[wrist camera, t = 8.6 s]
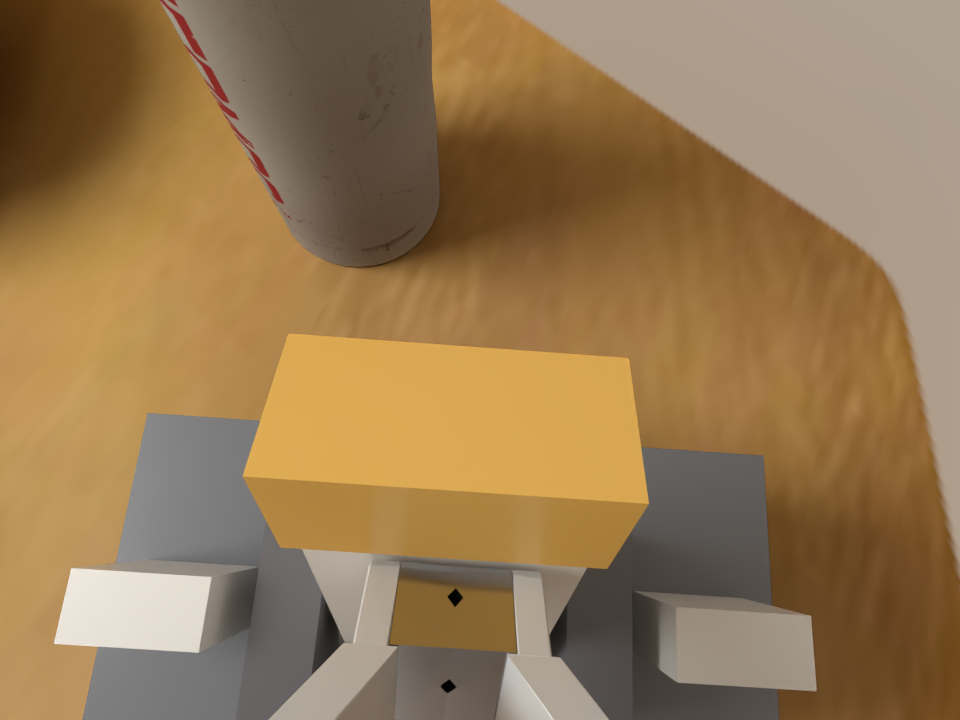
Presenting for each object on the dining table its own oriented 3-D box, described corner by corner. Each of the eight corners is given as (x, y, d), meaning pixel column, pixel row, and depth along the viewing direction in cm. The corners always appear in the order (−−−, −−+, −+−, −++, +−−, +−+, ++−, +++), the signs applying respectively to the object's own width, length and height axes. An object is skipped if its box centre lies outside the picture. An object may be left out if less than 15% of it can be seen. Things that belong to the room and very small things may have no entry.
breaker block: (670, 724, 25) (875, 915, 13) (205, 696, 24) (-43, 864, 12) (666, 477, 27) (832, 440, 15) (246, 448, 27) (75, 387, 15)
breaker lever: (537, 677, 16) (649, 504, 8) (343, 665, 16) (242, 476, 8) (536, 587, 18) (628, 358, 9) (358, 575, 18) (288, 333, 9)
